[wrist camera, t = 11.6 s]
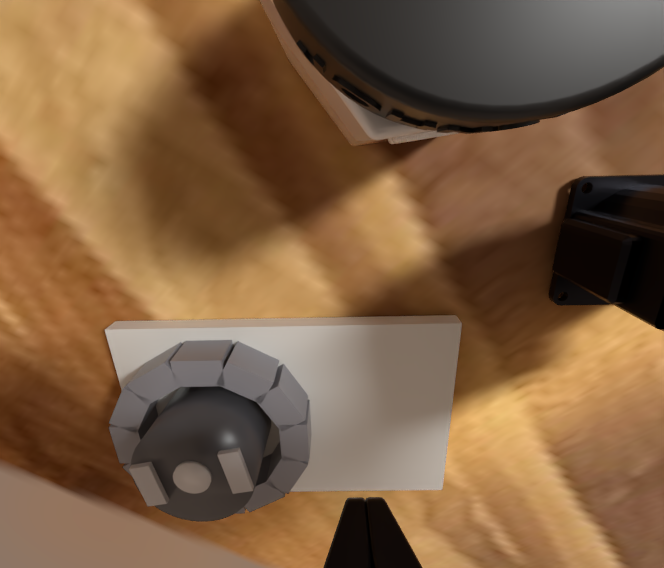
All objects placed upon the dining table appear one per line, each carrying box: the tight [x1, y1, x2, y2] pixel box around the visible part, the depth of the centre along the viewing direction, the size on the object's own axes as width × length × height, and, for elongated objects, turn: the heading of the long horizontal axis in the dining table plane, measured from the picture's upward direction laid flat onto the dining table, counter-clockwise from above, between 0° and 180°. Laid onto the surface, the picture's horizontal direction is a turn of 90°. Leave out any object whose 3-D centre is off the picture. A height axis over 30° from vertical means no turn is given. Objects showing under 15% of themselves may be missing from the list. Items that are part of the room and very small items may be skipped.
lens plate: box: [105, 315, 462, 513], centre depth 20 cm, size 19×12×3 cm, turn 91°
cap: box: [129, 386, 271, 521], centre depth 19 cm, size 6×6×4 cm
